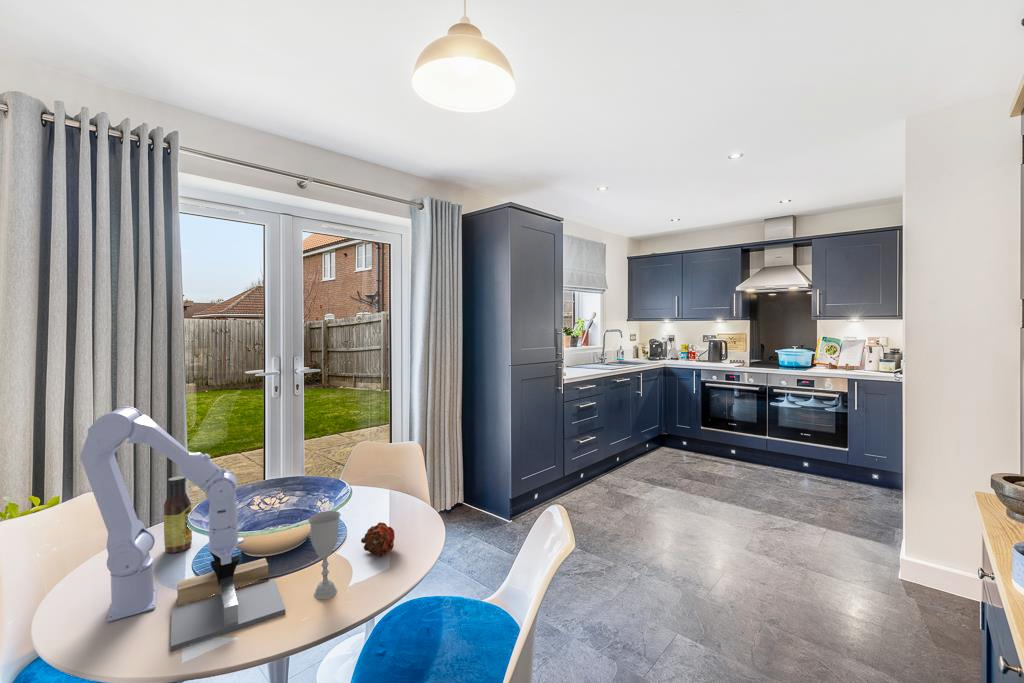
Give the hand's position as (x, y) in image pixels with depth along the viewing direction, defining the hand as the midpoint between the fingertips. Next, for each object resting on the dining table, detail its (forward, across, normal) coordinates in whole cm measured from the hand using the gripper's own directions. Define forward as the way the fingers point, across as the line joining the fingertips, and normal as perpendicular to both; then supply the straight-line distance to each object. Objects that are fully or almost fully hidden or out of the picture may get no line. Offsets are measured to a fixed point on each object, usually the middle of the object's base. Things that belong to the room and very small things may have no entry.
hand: (224, 581), depth 109 cm
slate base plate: (+2, -12, 0) cm, 12 cm away
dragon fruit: (+2, -4, -36) cm, 36 cm away
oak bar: (+2, 0, 0) cm, 2 cm away
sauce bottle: (+2, +30, +9) cm, 31 cm away
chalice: (+2, -16, -19) cm, 25 cm away
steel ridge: (+2, -12, 0) cm, 12 cm away
